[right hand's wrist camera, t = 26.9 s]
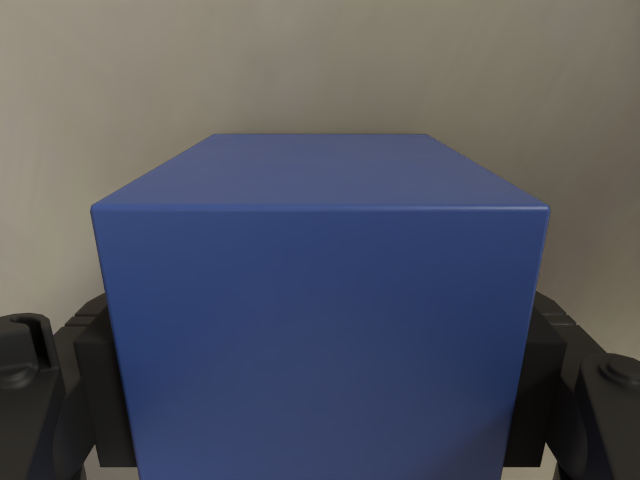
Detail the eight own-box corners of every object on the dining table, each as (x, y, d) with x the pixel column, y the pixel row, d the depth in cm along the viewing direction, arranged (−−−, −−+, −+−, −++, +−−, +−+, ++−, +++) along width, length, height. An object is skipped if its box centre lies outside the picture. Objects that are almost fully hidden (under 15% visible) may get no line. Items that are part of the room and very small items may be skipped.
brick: (228, 338, 17) (152, 561, 9) (212, 133, 14) (85, 205, 6) (411, 338, 17) (487, 562, 9) (428, 133, 14) (554, 206, 6)
